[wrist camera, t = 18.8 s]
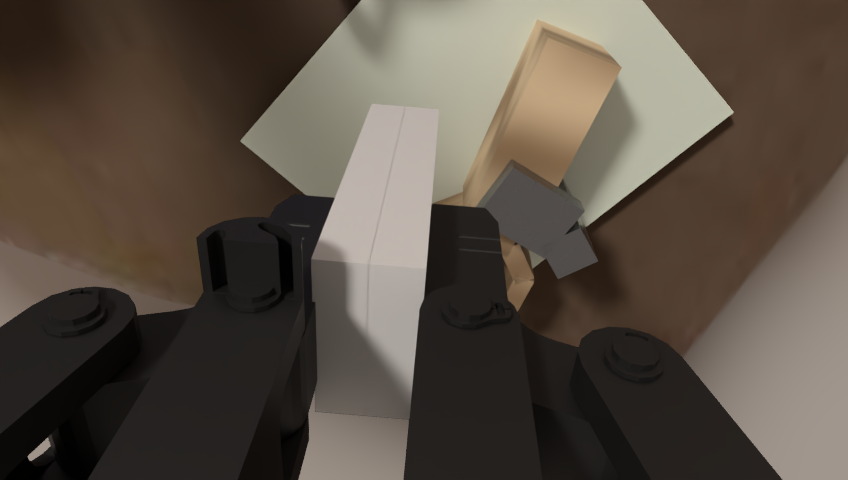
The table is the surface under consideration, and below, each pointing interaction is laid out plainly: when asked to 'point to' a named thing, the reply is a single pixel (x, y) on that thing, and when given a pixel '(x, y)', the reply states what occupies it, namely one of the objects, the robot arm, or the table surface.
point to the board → (486, 92)
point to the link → (540, 126)
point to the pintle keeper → (540, 218)
